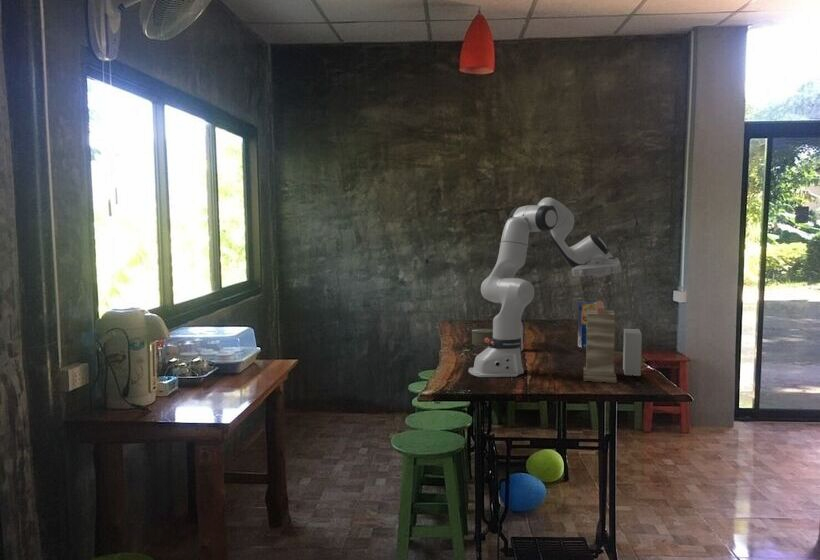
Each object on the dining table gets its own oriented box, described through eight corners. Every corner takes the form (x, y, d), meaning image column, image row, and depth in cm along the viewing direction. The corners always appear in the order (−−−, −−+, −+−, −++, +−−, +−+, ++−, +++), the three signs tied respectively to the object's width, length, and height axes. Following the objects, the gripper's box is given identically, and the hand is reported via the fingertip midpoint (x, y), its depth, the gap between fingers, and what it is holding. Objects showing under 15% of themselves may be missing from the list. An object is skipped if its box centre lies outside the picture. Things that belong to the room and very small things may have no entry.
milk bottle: (522, 352, 303) (523, 310, 301) (506, 351, 304) (506, 310, 303) (523, 349, 310) (523, 308, 309) (507, 348, 312) (507, 308, 310)
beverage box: (603, 348, 312) (604, 303, 310) (581, 348, 312) (582, 303, 310) (599, 345, 319) (600, 302, 317) (577, 345, 319) (578, 302, 317)
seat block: (640, 375, 253) (641, 333, 252) (624, 375, 255) (625, 333, 254) (638, 369, 265) (639, 329, 264) (622, 368, 266) (623, 328, 265)
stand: (616, 383, 242) (617, 315, 239) (583, 381, 245) (584, 314, 243) (613, 372, 259) (615, 309, 257) (583, 371, 262) (584, 308, 260)
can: (494, 346, 320) (494, 332, 319) (470, 345, 322) (470, 331, 321) (495, 341, 332) (495, 328, 331) (472, 341, 334) (472, 328, 333)
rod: (604, 314, 242) (604, 308, 241) (597, 314, 242) (597, 307, 242) (602, 306, 266) (602, 300, 265) (596, 306, 266) (596, 300, 266)
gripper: (574, 261, 284) (567, 268, 272) (622, 257, 274) (617, 264, 262) (576, 275, 285) (569, 282, 273) (623, 271, 275) (619, 279, 263)
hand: (593, 273), depth 267 cm, fingers open, 8 cm apart
